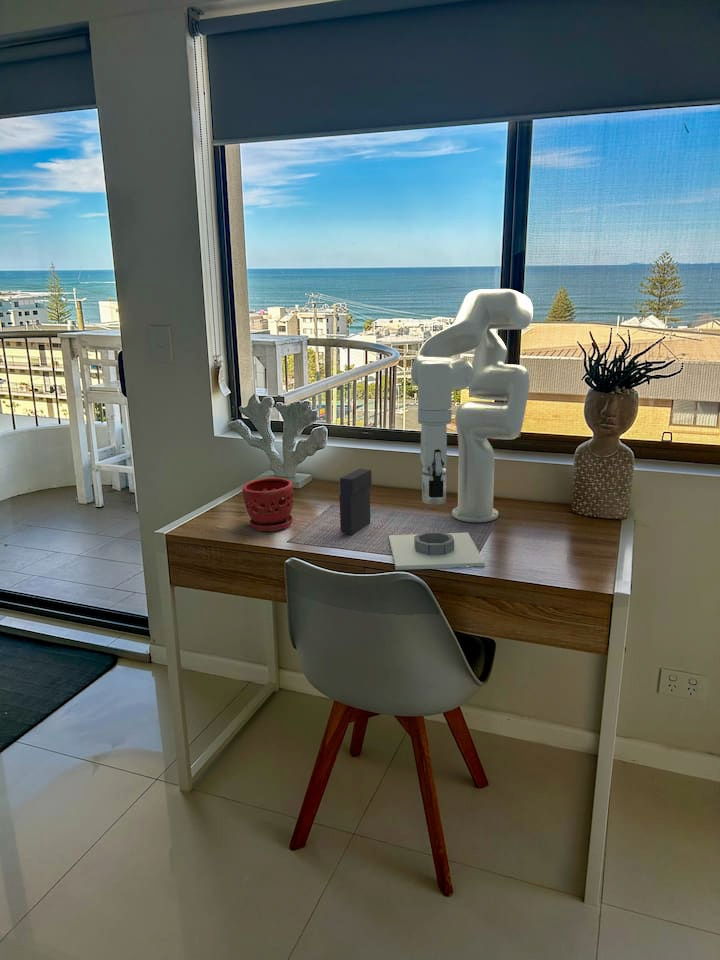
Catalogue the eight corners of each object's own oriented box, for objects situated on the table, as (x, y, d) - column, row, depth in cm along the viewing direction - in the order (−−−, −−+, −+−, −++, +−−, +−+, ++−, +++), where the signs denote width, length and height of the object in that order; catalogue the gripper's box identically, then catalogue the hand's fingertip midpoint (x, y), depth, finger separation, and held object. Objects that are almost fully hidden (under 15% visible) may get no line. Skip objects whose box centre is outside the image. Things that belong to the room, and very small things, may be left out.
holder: (388, 539, 172) (388, 525, 171) (467, 536, 172) (468, 523, 172) (395, 569, 153) (395, 555, 152) (484, 566, 153) (485, 552, 152)
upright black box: (358, 521, 186) (357, 467, 182) (372, 523, 184) (371, 469, 180) (338, 533, 177) (336, 477, 173) (353, 536, 175) (351, 479, 171)
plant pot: (264, 516, 192) (262, 475, 189) (304, 522, 186) (302, 480, 183) (235, 530, 181) (232, 487, 178) (276, 537, 175) (273, 492, 172)
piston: (420, 497, 162) (420, 465, 160) (444, 497, 162) (444, 464, 160) (423, 504, 156) (423, 470, 154) (447, 504, 156) (448, 470, 154)
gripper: (413, 410, 162) (413, 484, 167) (422, 423, 146) (422, 504, 150) (445, 409, 162) (444, 483, 167) (457, 422, 146) (456, 503, 150)
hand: (434, 492), depth 159 cm, fingers closed on piston, 5 cm apart
